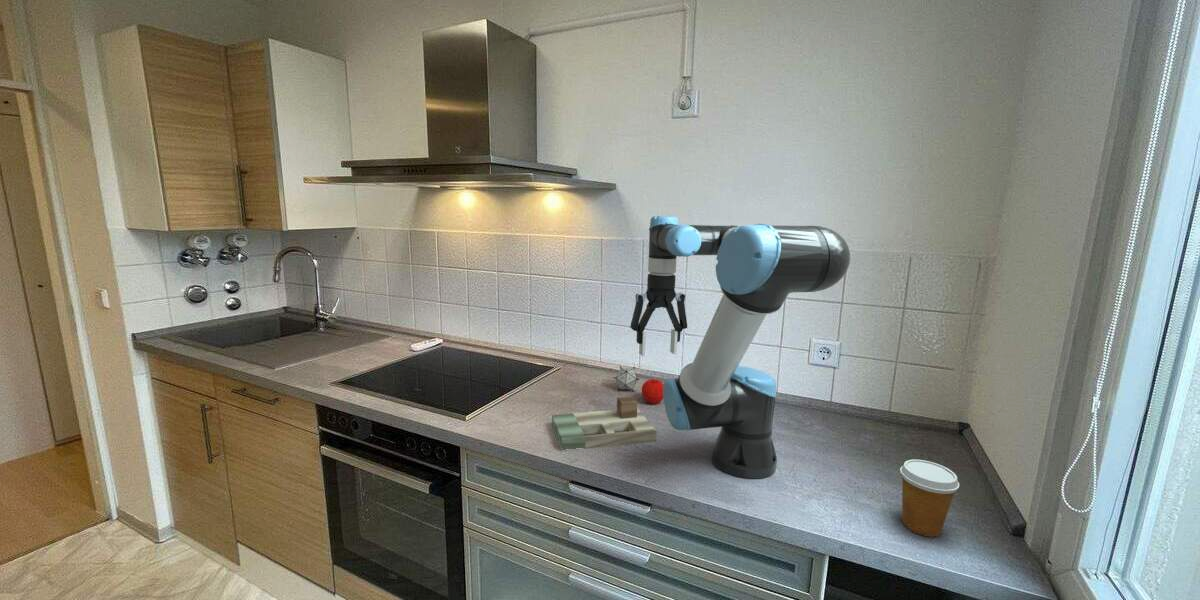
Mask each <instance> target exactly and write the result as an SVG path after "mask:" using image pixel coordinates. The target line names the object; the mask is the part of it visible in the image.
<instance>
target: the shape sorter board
mask: <svg viewBox="0 0 1200 600" xmlns="http://www.w3.org/2000/svg"><path fill="white" fill-rule="evenodd" d="M551 426H553V427H552V429H553V431H555V432H554V433H555V436H557V437H556V439H557V441H559V442H558V444H559V443H560V444H559V447H560V446H561V447H560V449H561V448H562V450H565V451H567V450H566V449H575V450H577V449H576V448H584V449H591V448H590V447H594V448H602V447H601V446H603V447H610V446H612V447H613V446H619V445H621V446H622V445H630V444H638V443H641V444H642V443H649V442H656V439H657V437H656V436H657V434H656V433H657V429H656V428H655V427H654V426H653V425H652V424H651V423H650V422H649V420H648V419H647V418H646V417H645V416H644V414H643V413H642V412H641V411H640V409H639V408H637V417H636V418H625V419H621V418H620V416H619V415H618V413H617V409H608V410H596V411H587V412H585V411H584V412H573V413H563V414H562V413H561V414H560V413H559V414H552V415H551ZM562 450H561V451H562Z"/></svg>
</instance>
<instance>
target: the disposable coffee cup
mask: <svg viewBox="0 0 1200 600" xmlns="http://www.w3.org/2000/svg"><path fill="white" fill-rule="evenodd" d="M899 472H900V474H901V477H902V478H901V485H902V487H901V492H902V493H901V494H902V497H901V499H902V500H901V502H902V505H901V507H902V509H901V511H902V513H901V515H902V520H901V521H902V524H903V525H905V526H906V527H905V526H904V527H905V528H906V529H908V530H909V529H910V530H909V531H911V532H912V531H913V532H912V533H915V534H917V533H918V534H917V535H919V534H921V535H920V536H922V535H924V536H923V537H927V536H929V538H935V537H934V536H936V537H939V536H940V535H941V532H942V529H943V526H944V524H945V521H946V519H947V516H948V515H947V514H948V512H949V511H950V506H951V504H952V500H953V498H954V496H955V492H956V491H958V489H959V487H960V482H959V481H958V476H957V474H956V473H955V472H953V471H952V470H951V469H950V468H948V467H946V466H944V465H941V464H939V463H936V462H933V461H930V460H924V459H909V460H906V461H904V463H903V465H902V466H901V467H900V469H899Z"/></svg>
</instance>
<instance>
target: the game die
mask: <svg viewBox="0 0 1200 600" xmlns="http://www.w3.org/2000/svg"><path fill="white" fill-rule="evenodd" d="M635 369H636V366H633V368H632V367H622V366H621V365H619V370H618V372H617V374H616V376H613V379H615V380H616V383H617V386H618V389H617V391H618V392H619V391H620V390H629V391H632V392H633V393H634V392H635V390H634V388H635V386H636V384H637V382H638V381H640V378H638V376H637V373H636V370H635Z"/></svg>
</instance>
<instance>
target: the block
mask: <svg viewBox="0 0 1200 600" xmlns="http://www.w3.org/2000/svg"><path fill="white" fill-rule="evenodd" d="M637 409H638V400H636V399H635V398H634V396H633V395H629V396H618V397H616V410H617V413H618V415H619V416H620V418H621V419H625V418H636V417H637Z"/></svg>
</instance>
